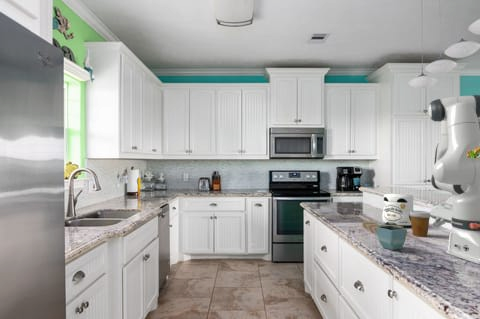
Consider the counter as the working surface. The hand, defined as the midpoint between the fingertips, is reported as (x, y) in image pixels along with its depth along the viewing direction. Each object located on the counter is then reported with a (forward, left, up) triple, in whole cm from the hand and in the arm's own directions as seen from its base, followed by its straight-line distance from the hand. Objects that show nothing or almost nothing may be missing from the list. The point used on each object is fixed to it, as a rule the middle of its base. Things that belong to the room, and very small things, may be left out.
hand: (435, 226), depth 157 cm
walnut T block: (+9, +21, -5) cm, 23 cm away
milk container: (+25, +6, -5) cm, 26 cm away
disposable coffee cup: (0, +8, -5) cm, 9 cm away
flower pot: (-23, +34, -5) cm, 41 cm away
